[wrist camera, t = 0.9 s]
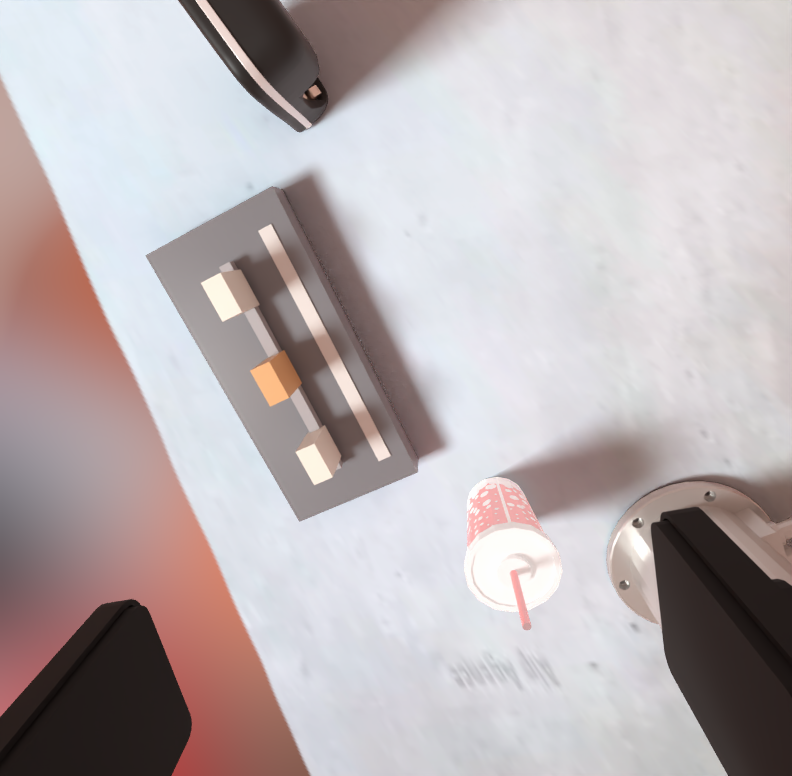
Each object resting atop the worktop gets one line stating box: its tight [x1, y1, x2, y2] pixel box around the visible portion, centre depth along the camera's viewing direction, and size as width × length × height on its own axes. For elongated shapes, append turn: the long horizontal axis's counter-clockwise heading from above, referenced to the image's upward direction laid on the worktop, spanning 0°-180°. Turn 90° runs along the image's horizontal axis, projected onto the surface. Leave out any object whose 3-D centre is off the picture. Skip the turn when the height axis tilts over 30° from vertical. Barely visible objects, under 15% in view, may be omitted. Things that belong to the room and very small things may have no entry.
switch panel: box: [146, 186, 418, 522], centre depth 39 cm, size 10×22×3 cm, turn 26°
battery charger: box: [178, 0, 328, 132], centre depth 30 cm, size 7×4×11 cm, turn 37°
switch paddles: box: [201, 261, 343, 485], centre depth 36 cm, size 1×16×4 cm, turn 26°
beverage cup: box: [464, 477, 562, 630], centre depth 36 cm, size 6×6×14 cm
